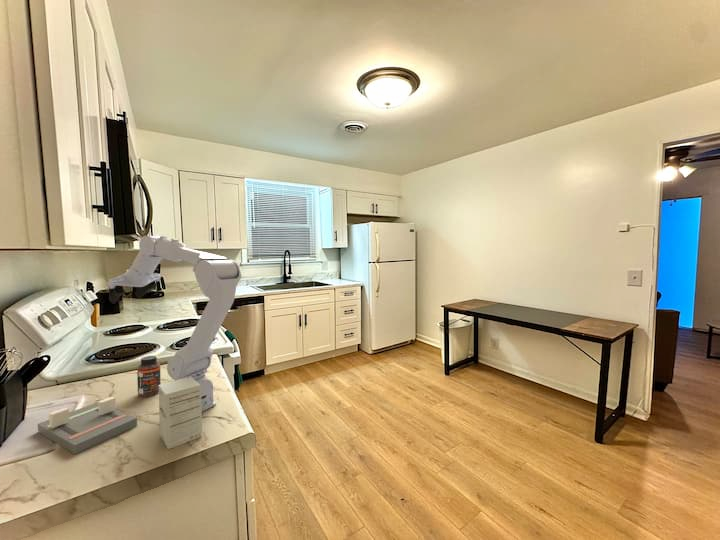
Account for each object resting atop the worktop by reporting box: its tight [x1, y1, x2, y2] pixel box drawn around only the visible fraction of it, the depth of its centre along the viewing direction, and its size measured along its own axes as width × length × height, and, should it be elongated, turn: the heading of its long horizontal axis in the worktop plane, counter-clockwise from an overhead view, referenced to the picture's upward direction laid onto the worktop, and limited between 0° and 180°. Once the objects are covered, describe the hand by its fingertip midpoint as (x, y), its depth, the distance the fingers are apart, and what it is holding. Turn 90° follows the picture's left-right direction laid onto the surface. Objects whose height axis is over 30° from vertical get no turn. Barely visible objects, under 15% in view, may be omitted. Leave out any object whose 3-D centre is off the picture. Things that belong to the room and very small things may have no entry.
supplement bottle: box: [136, 355, 162, 398], centre depth 93 cm, size 6×6×11 cm
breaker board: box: [37, 401, 138, 455], centre depth 74 cm, size 19×12×2 cm, turn 64°
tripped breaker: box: [97, 396, 117, 415], centre depth 77 cm, size 2×3×3 cm, turn 154°
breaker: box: [48, 407, 70, 428], centre depth 71 cm, size 2×3×3 cm, turn 154°
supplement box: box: [158, 377, 203, 450], centre depth 70 cm, size 7×7×13 cm
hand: (124, 298), depth 93 cm, fingers open, 7 cm apart
